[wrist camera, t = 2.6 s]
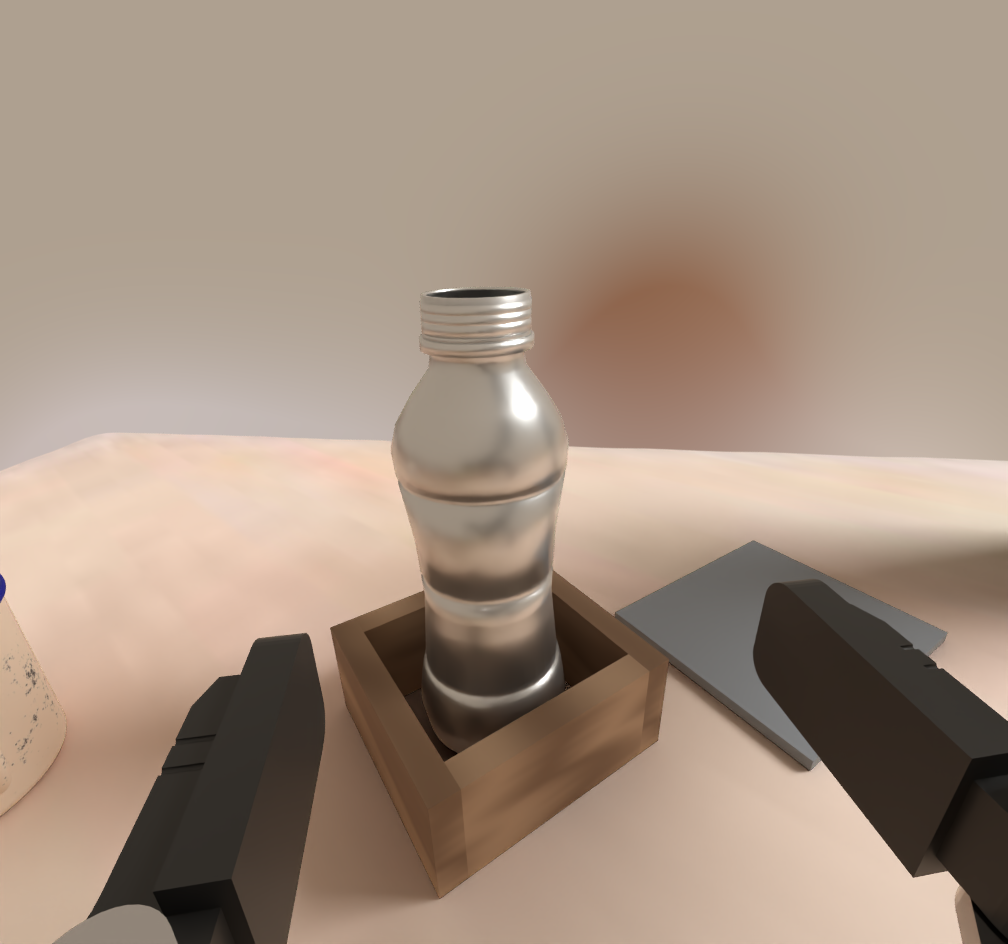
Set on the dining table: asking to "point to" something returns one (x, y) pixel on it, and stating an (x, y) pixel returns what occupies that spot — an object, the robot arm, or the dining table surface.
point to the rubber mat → (744, 632)
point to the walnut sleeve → (499, 731)
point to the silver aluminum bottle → (482, 512)
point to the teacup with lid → (24, 713)
